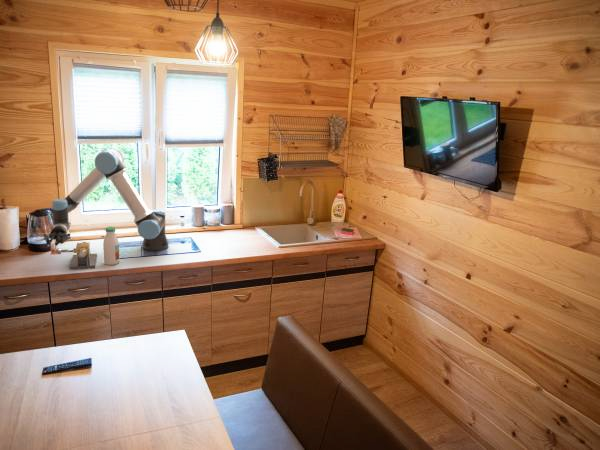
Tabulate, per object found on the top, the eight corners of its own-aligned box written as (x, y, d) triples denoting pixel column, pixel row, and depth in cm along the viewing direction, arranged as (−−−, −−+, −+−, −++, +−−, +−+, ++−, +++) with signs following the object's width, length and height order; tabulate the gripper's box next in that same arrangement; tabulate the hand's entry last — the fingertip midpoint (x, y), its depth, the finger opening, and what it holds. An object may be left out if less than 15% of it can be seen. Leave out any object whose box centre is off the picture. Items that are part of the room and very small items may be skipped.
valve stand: (97, 256, 259) (96, 238, 256) (95, 268, 242) (94, 249, 239) (73, 257, 255) (72, 239, 252) (69, 269, 238) (68, 250, 235)
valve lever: (73, 247, 246) (69, 248, 229) (73, 253, 246) (69, 254, 229) (55, 248, 244) (50, 248, 226) (56, 254, 243) (50, 255, 226)
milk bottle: (111, 266, 246) (110, 231, 240) (100, 263, 249) (99, 228, 243) (122, 262, 253) (121, 227, 247) (111, 258, 256) (110, 224, 249)
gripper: (72, 238, 252) (67, 252, 231) (45, 239, 248) (38, 253, 227) (71, 225, 250) (66, 238, 229) (44, 226, 246) (36, 239, 225)
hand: (52, 246), depth 228 cm, fingers closed
